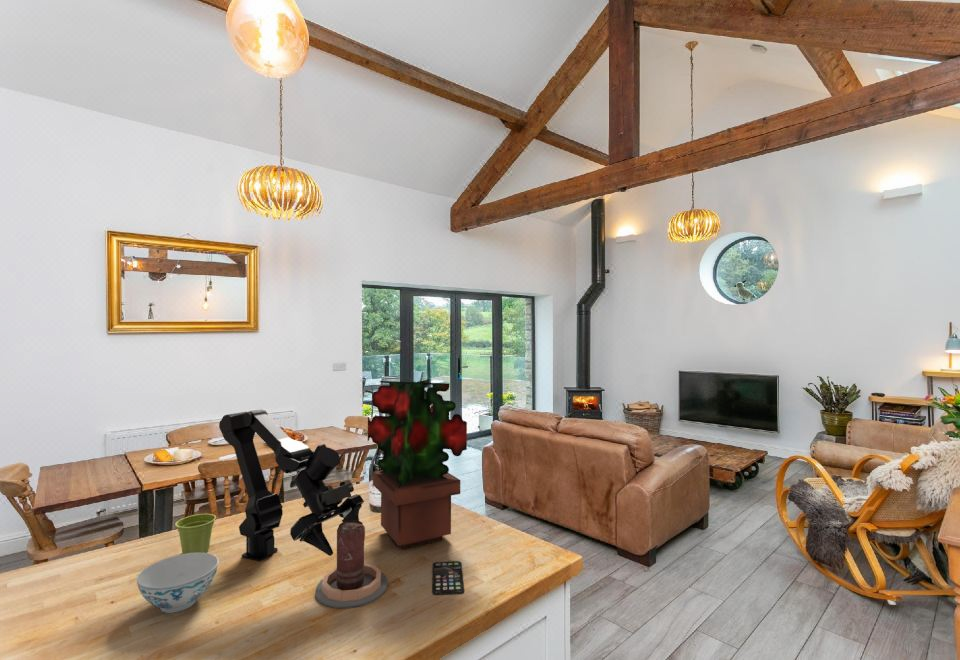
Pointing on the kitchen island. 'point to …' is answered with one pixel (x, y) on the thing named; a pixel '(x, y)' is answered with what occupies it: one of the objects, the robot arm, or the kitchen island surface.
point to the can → (350, 555)
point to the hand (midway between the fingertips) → (346, 546)
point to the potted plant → (416, 459)
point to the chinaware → (177, 580)
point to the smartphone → (447, 578)
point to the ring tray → (351, 603)
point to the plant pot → (195, 532)
